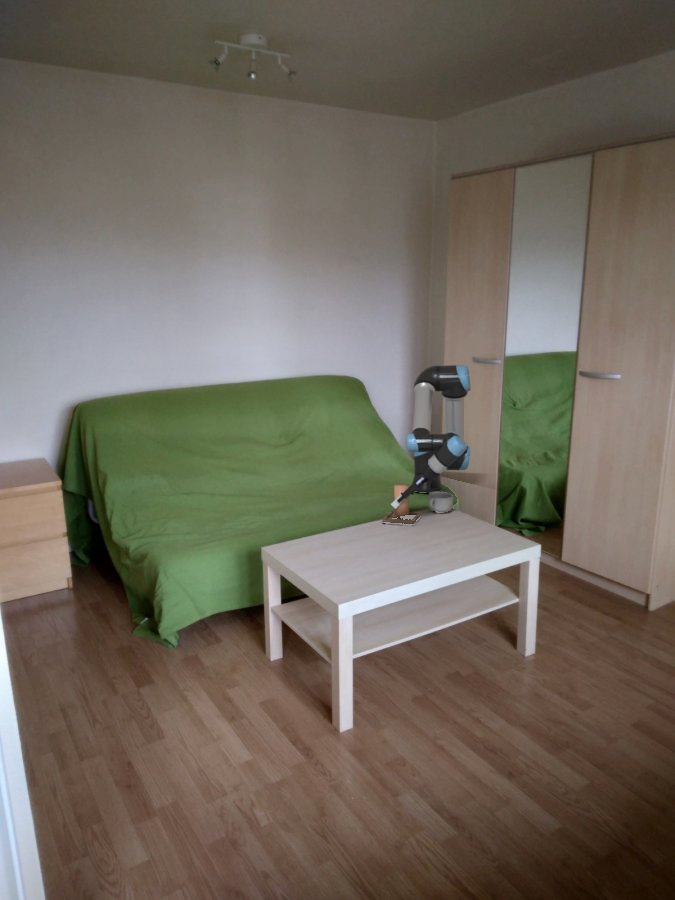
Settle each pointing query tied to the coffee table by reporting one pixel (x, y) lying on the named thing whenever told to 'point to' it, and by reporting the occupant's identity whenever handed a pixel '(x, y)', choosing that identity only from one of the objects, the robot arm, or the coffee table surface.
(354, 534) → the coffee table surface
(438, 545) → the coffee table surface
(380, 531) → the coffee table surface
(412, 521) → the tray
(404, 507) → the pillar candle
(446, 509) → the teacup
